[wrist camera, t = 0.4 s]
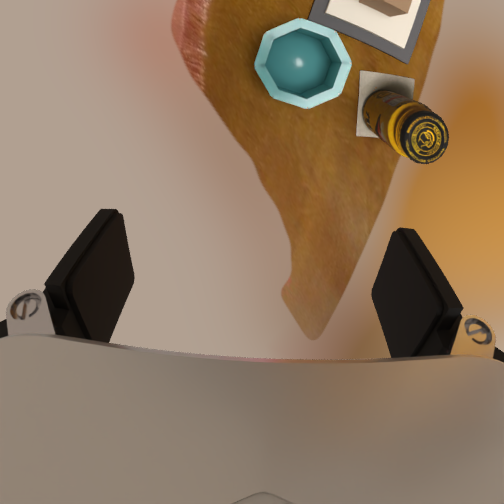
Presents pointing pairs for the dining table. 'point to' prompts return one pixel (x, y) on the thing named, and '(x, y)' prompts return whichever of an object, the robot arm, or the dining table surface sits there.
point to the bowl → (302, 63)
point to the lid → (378, 17)
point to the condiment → (399, 117)
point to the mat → (364, 36)
